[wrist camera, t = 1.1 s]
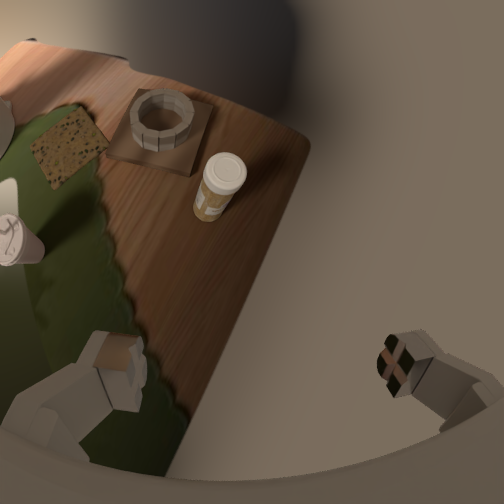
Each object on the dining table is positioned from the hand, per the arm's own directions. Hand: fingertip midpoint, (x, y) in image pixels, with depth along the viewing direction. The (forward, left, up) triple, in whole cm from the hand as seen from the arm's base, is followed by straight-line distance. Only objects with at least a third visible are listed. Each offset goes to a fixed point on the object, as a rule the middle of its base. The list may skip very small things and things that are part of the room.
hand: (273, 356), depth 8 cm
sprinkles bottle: (-1, +15, -32) cm, 35 cm away
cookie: (-27, +20, -32) cm, 47 cm away
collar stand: (-12, +26, -32) cm, 43 cm away
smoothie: (-26, +2, -32) cm, 41 cm away
